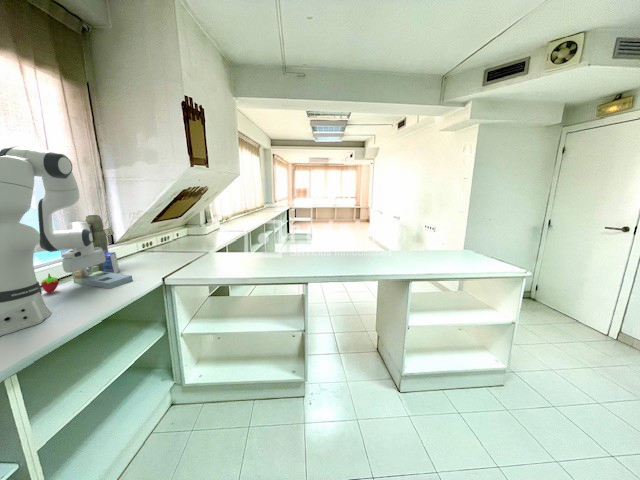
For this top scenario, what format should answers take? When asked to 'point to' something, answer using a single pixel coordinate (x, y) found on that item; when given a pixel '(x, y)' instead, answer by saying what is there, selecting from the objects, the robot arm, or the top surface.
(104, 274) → the trap board
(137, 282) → the top surface
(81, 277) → the beech block
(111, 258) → the ink cartridge box
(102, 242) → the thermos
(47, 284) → the strawberry
